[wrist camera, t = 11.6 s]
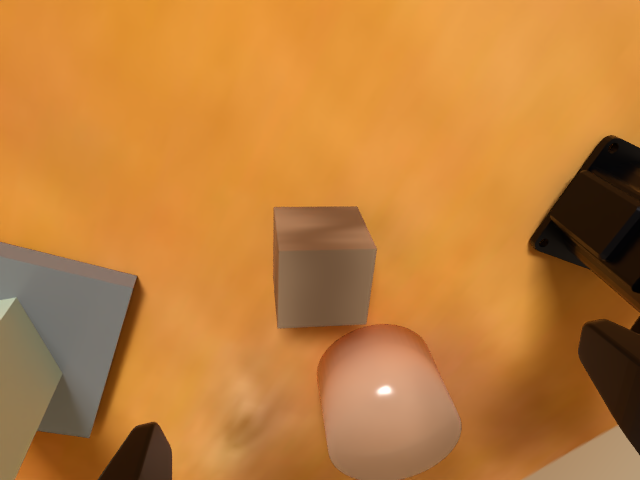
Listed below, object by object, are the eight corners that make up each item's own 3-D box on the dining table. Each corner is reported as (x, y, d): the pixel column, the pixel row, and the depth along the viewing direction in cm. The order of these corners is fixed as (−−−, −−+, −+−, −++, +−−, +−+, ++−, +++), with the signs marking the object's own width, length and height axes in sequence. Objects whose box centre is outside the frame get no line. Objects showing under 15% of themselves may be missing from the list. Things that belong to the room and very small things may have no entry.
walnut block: (356, 205, 22) (376, 248, 19) (349, 274, 24) (366, 324, 21) (273, 206, 22) (279, 251, 18) (273, 276, 24) (277, 328, 20)
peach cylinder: (448, 334, 27) (484, 401, 23) (404, 413, 31) (428, 485, 26) (338, 315, 26) (354, 385, 21) (302, 401, 29) (311, 477, 25)
